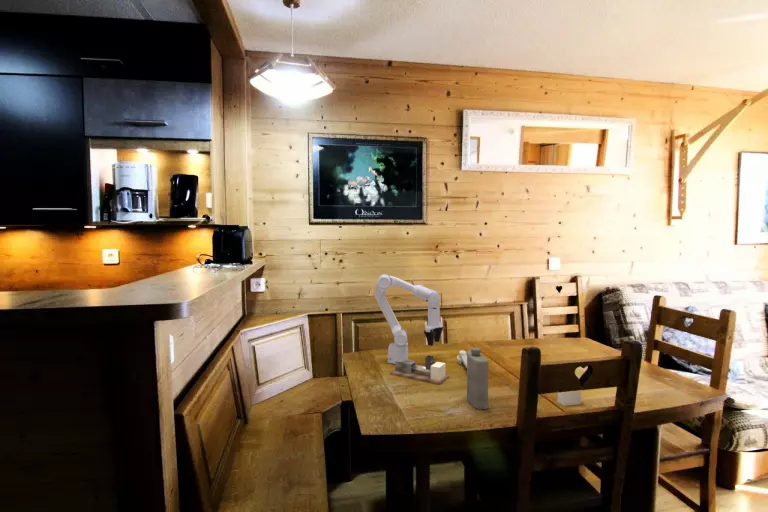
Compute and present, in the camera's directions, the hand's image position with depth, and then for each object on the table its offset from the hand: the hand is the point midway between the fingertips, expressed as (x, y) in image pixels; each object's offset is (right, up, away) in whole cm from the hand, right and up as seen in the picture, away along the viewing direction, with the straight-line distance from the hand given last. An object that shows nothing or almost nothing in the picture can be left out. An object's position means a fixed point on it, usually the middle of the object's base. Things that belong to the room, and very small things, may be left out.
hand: (433, 343), depth 191 cm
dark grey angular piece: (-7, -9, -19) cm, 22 cm away
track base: (-9, -10, -18) cm, 22 cm away
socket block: (-1, -11, -22) cm, 25 cm away
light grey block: (+44, -12, -46) cm, 65 cm away
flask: (+10, -12, -44) cm, 47 cm away
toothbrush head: (+15, -10, -10) cm, 21 cm away
